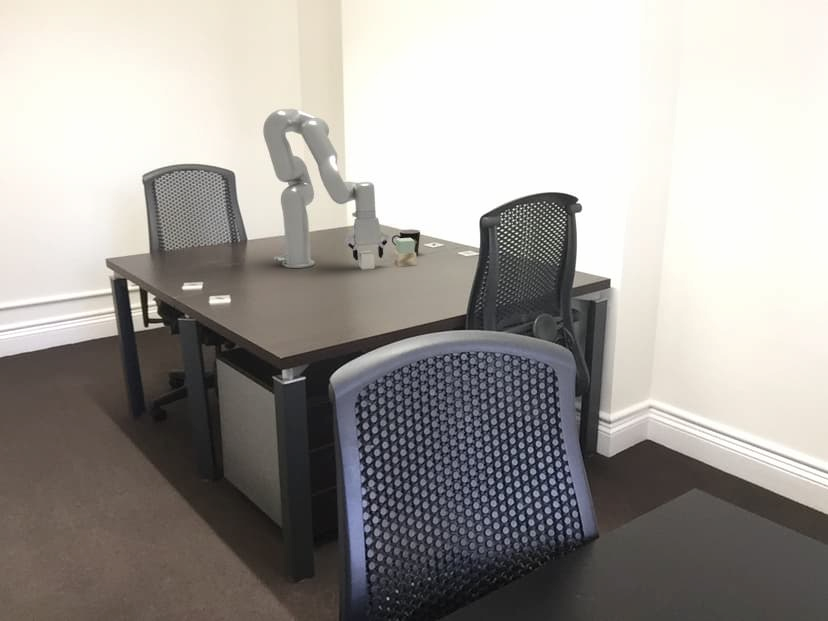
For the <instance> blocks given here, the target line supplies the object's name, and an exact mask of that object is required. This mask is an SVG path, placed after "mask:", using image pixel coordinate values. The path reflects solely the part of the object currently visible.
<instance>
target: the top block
mask: <svg viewBox="0 0 828 621" xmlns="http://www.w3.org/2000/svg"><path fill="white" fill-rule="evenodd" d="M358 266H359V268H360V269H361V270H371V269H375V267H376V266H375V253H374V252H373V250H366V251H365V250H364V251H358Z"/></svg>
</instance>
